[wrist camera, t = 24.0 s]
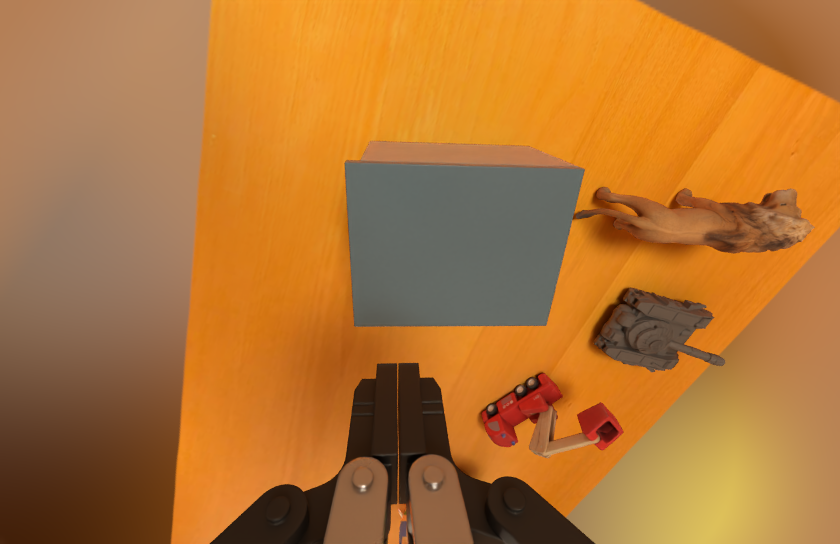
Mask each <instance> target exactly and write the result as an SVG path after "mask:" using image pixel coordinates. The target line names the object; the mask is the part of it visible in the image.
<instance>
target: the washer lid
mask: <svg viewBox="0 0 840 544" xmlns="http://www.w3.org/2000/svg"><path fill="white" fill-rule="evenodd" d="M584 171H585V169H583V168H580V167H567V166H532V165H496V164H460V163H425V162H389V161H353V160H347V161H346V162H345V177H346V194H347V211H348V228H349V245H350V262H351V279H352V296H353V313H354V326H355V327H366V326H546V325H547V321H548V316H549V312H550V308H551V304H552V300H553V296H554V292H555V288H556V284H557V280H558V276H559V272H560V268H561V264H562V260H563V256H564V252H565V248H566V244H567V240H568V235H569V231H570V227H571V223H572V219H573V215H574V211H575V207H576V203H577V199H578V195H579V191H580V187H581V183H582V179H583V175H584Z"/></svg>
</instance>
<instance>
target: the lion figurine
mask: <svg viewBox="0 0 840 544" xmlns="http://www.w3.org/2000/svg"><path fill="white" fill-rule="evenodd" d="M596 196H597V198H598V199H600V200H604V201H607V202H610V203H621V204H624V205H626V206H628V207H630V208H632V209H633V210H634V211H635V212H636V213H637V214H638V216H639V217H636V216H632V215H629V214H626V213H622V212H619V211H615V210H611V209H594V210H583V211H581V212H579V213H578V214H577V215H576V218H577V219H581V218H588V217H591V216H593V215H597V214H604V215H609V216H613V217H616V218H617V219H616V220H615V221H614V223H613V225H614V227H615V228H616V229H619V230H621V229H625V230H626V231H628V232H629V233H631V234H632V235H633V236H634V237H635V238H638V239H641V240H644V241H647V242H652V243H680V244H686V245H707V246H710V247H713V248H715V249H716V250H718V251H722V252H728V253H739V252H765V251H767V250H770V251H776V250H779V249H786V248H789V247H791V246H792V245H794V244H796V243H797V242H802V241H803V239H804V238H805V237H806V236H807V234H809V233H810V232H811V230H812V229H813V228H815V227H814V226H813V225H811V224H810V222H809V221H808V220H807V219H804V218H801V209H799V208H798V207H797V206H796V198H797V192H796V190H794V189H788V190H778V191H775V192H773V193H767V194H765V195H764V197H763V200H762V201H761V203H760V204H755V203H752V202H748V203H746V204H739V203H717V202H714V201H712V200H709V199H705V198H695V197H692V192H691V191H690V190H689V189H683V190H682V191H680V192H679V193H678V195H677V198H676V201H677V203H679V204H680V205H682V206H689V207H693V208H678V209H668V208H667V207H665V206H663V205H661V204H659V203H657V202H654V201H651V200H649V199H646V198H643V197H637V196H631V195H619V194H615V193H611V191H610V190H609V189H608V188H607V187H602V188H600V189H599V190H598V191H597V195H596Z"/></svg>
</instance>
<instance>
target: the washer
mask: <svg viewBox="0 0 840 544" xmlns="http://www.w3.org/2000/svg"><path fill="white" fill-rule="evenodd" d="M360 161H389V162H425V163H460V164H496V165H532V166H567V167H578V166H575V165H573V164H571V163H568V162H566V161H563V160H561V159H559V158H556V157H554V156H551V155H549V154H546V153H544V152H542V151H539V150H537V149H534V148H532V147H530V146H513V145H481V144H450V143H418V142H387V141H370V142H369V144H368V146H367V148H366V150H365V152H364V154H363V156H362V158H361V160H360Z"/></svg>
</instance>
